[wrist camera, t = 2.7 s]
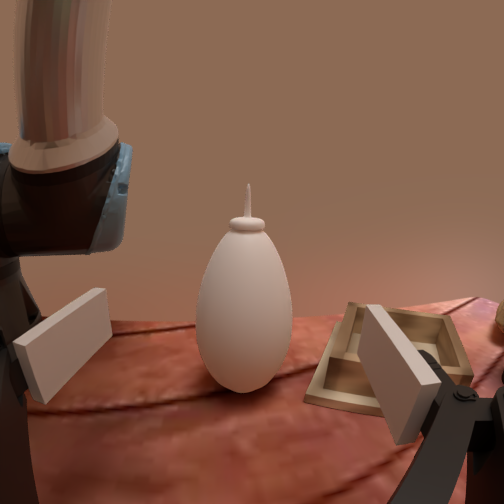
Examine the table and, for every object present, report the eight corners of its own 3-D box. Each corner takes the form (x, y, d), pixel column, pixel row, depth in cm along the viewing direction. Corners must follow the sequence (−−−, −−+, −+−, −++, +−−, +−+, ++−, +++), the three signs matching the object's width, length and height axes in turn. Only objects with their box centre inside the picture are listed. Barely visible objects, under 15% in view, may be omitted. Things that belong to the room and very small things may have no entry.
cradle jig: (303, 402, 24) (310, 361, 23) (335, 328, 38) (340, 296, 37) (469, 423, 18) (489, 384, 17) (447, 344, 32) (456, 312, 31)
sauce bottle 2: (300, 384, 27) (320, 187, 23) (243, 426, 21) (252, 184, 17) (241, 354, 32) (246, 183, 28) (183, 383, 26) (175, 182, 22)
